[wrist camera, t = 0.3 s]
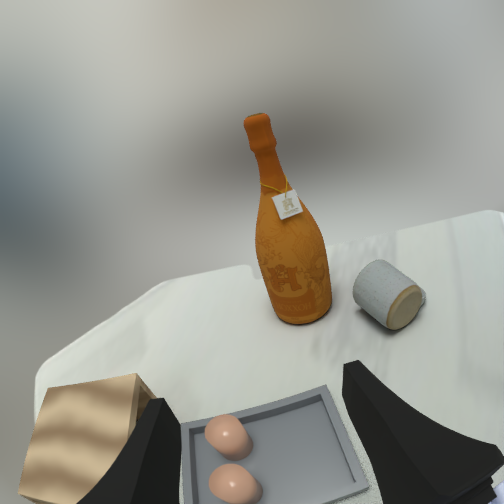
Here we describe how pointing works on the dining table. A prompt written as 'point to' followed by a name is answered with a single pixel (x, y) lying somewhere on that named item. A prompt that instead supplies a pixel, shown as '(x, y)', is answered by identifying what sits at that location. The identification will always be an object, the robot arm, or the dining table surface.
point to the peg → (229, 437)
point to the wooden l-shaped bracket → (80, 437)
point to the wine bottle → (287, 237)
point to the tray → (281, 453)
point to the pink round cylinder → (235, 485)
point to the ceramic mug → (388, 294)
